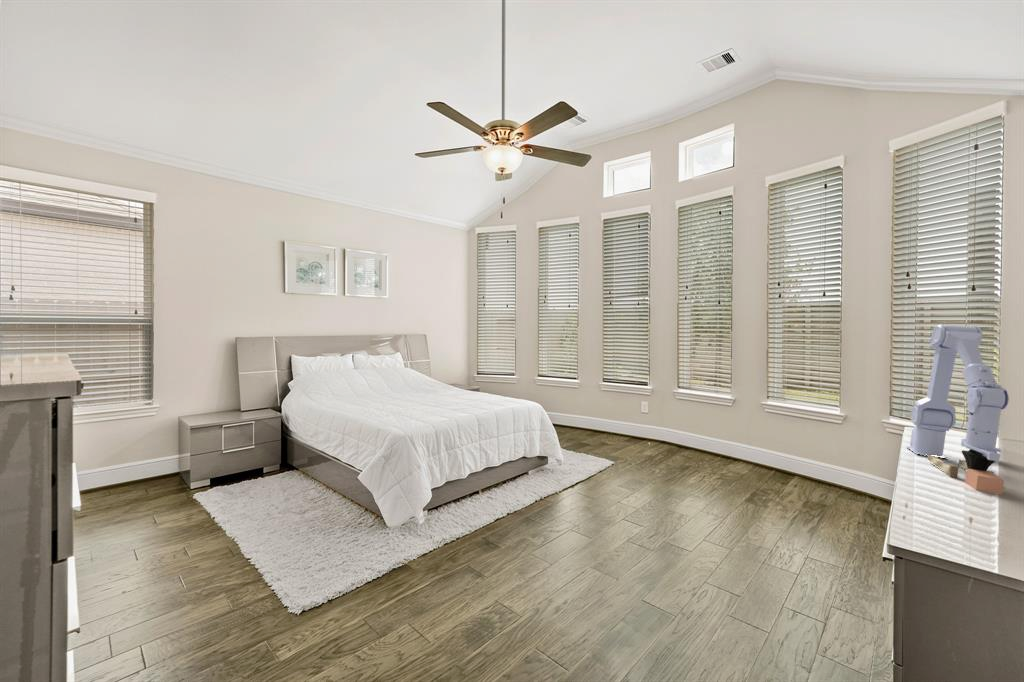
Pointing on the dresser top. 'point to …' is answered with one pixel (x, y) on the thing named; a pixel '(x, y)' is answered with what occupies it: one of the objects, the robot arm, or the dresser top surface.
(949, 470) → the chute
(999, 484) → the block
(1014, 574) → the dresser top surface
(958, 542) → the dresser top surface
